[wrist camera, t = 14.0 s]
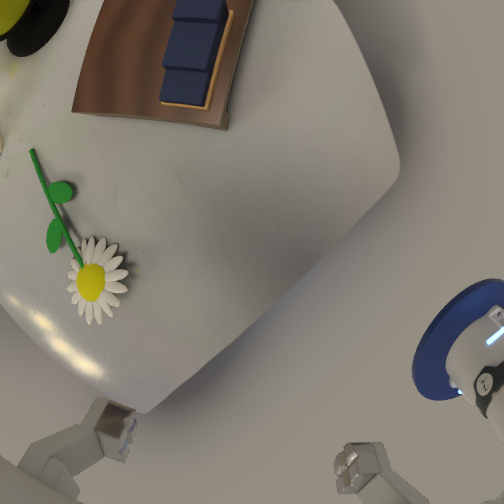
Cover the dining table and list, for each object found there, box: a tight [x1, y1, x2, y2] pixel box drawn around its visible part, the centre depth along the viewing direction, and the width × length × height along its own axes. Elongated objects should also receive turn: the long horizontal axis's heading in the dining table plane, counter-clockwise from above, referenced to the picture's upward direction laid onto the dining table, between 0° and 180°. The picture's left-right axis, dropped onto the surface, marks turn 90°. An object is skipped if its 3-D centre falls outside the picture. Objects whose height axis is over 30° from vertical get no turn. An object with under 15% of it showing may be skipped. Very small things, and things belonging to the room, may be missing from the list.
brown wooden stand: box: [72, 0, 254, 131], centre depth 28 cm, size 19×23×6 cm
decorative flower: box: [29, 149, 129, 326], centre depth 38 cm, size 13×5×30 cm
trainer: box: [159, 0, 234, 111], centre depth 23 cm, size 12×5×6 cm, turn 168°
